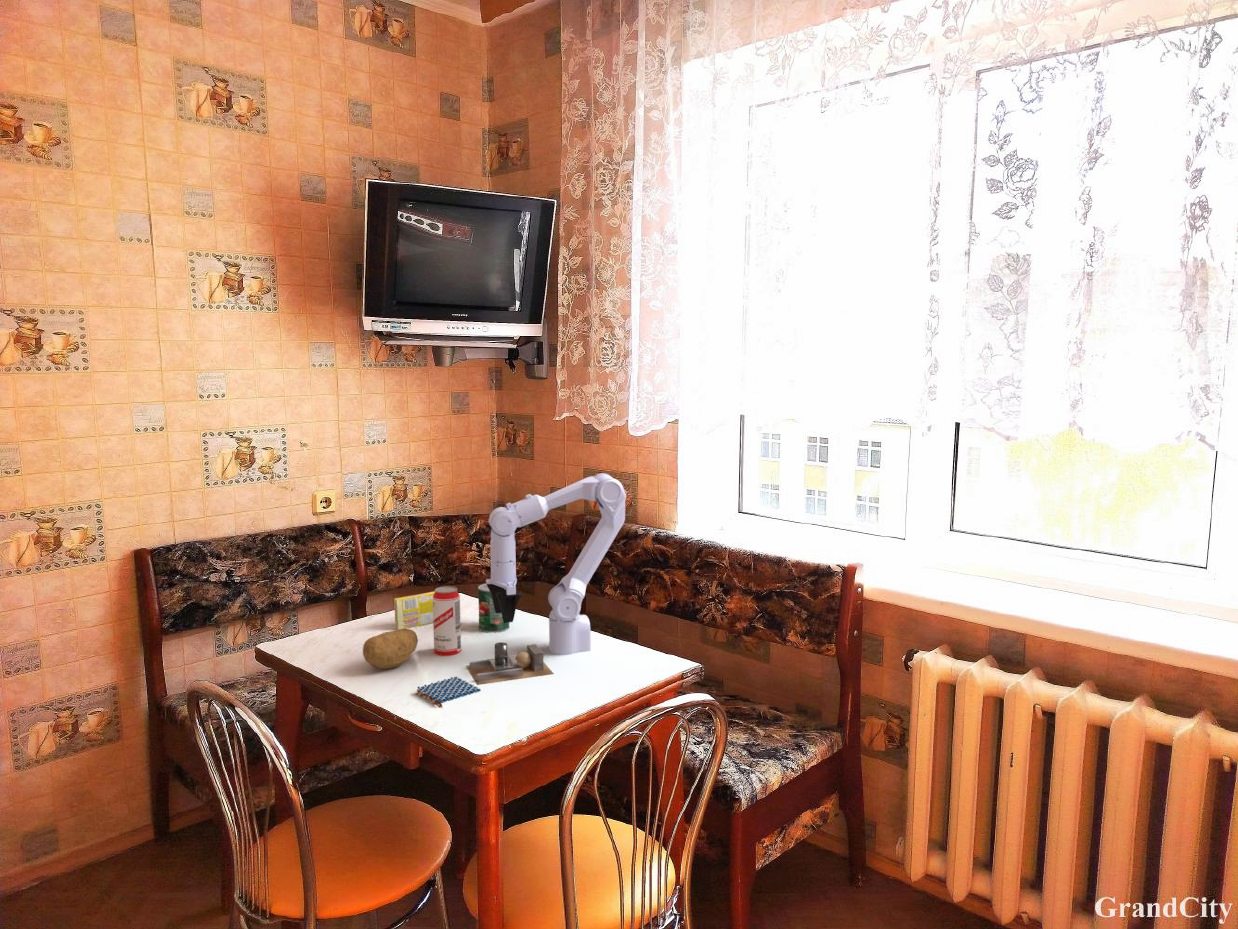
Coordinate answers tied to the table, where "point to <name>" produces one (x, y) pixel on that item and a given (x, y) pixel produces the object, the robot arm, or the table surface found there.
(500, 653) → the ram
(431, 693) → the woven mat
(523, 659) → the walnut
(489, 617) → the canned tomato
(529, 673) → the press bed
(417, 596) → the candy box
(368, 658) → the potato
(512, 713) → the table surface
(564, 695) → the table surface
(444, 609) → the beer can
